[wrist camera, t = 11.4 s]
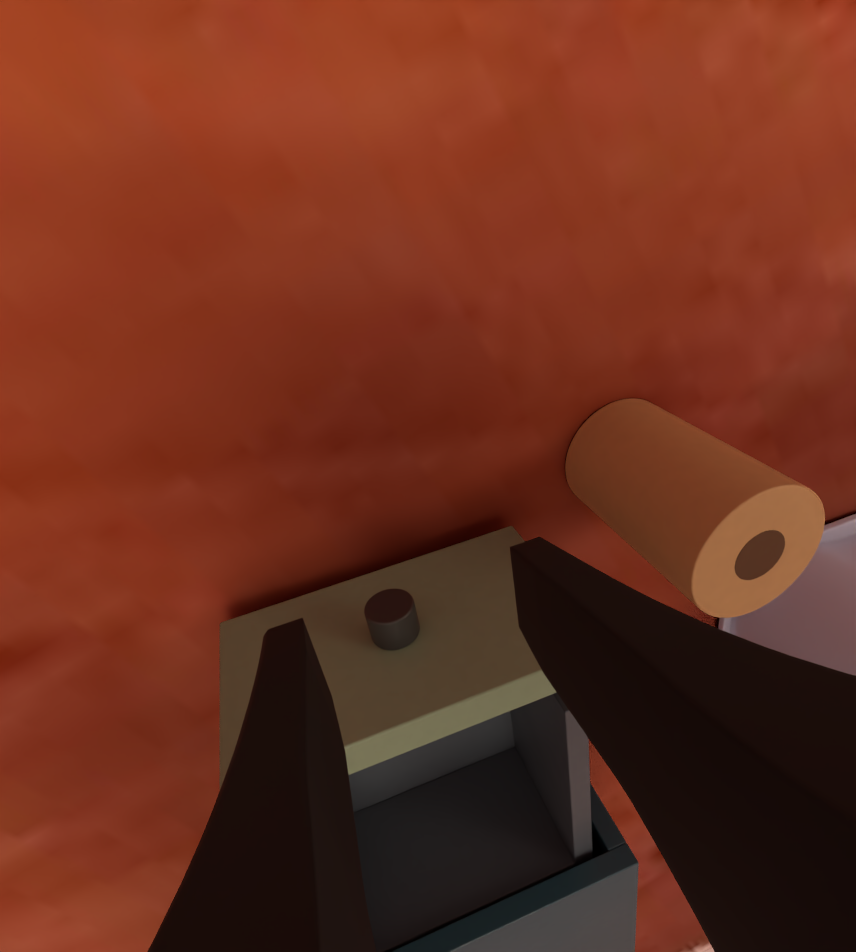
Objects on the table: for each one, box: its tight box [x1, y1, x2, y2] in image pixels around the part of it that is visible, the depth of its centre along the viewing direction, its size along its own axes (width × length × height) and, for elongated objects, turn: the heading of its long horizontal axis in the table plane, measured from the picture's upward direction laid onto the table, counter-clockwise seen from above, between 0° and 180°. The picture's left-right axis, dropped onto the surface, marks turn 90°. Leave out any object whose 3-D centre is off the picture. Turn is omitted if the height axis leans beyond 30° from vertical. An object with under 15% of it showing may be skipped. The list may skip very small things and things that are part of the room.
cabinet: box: [392, 783, 638, 952], centre depth 28 cm, size 14×13×9 cm
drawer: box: [220, 526, 593, 952], centre depth 22 cm, size 14×11×7 cm
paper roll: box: [565, 398, 825, 618], centre depth 21 cm, size 5×5×8 cm
